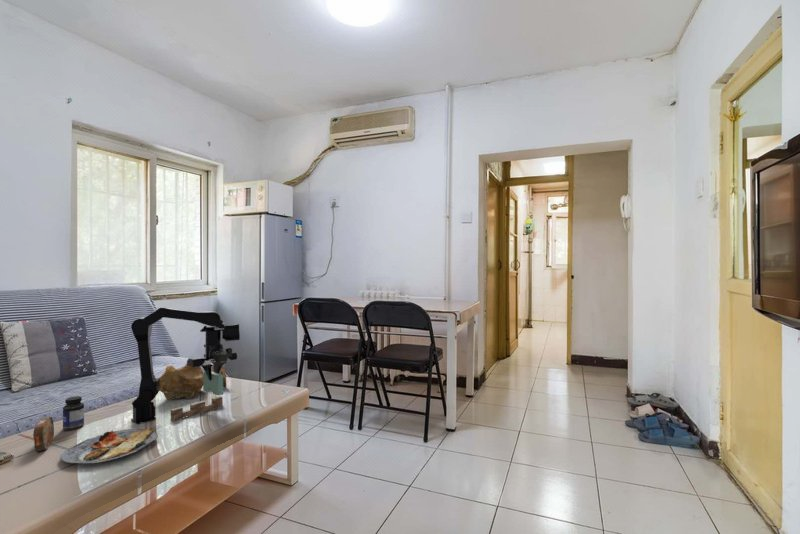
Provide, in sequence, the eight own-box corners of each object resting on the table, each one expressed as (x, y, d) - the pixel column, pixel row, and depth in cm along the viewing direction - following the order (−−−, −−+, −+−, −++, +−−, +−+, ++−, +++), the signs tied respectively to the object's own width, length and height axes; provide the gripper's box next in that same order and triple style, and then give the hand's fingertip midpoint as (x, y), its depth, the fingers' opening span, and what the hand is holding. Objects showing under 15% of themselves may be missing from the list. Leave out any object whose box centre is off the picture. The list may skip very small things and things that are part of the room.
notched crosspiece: (218, 395, 157) (218, 375, 158) (203, 390, 165) (203, 371, 165) (223, 394, 159) (223, 374, 159) (208, 389, 166) (208, 370, 166)
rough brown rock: (184, 406, 170) (187, 372, 171) (150, 402, 173) (153, 368, 174) (217, 392, 193) (220, 362, 194) (187, 388, 196) (189, 358, 197)
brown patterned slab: (44, 453, 125) (44, 426, 125) (31, 456, 123) (31, 429, 123) (55, 437, 138) (54, 413, 138) (43, 439, 136) (43, 415, 136)
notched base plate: (173, 420, 151) (173, 410, 151) (170, 419, 152) (170, 409, 152) (222, 406, 167) (222, 396, 167) (220, 405, 168) (219, 396, 168)
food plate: (107, 433, 139) (107, 424, 139) (171, 434, 139) (171, 424, 139) (41, 470, 114) (40, 458, 114) (118, 471, 114) (118, 459, 114)
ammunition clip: (204, 388, 196) (203, 363, 196) (206, 386, 198) (205, 363, 198) (224, 388, 195) (224, 363, 196) (226, 386, 197) (226, 362, 197)
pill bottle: (61, 428, 146) (61, 398, 146) (82, 423, 150) (82, 394, 151) (64, 432, 142) (64, 401, 142) (85, 427, 146) (85, 397, 146)
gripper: (200, 347, 150) (200, 388, 150) (244, 340, 165) (244, 377, 165) (186, 344, 157) (186, 383, 156) (230, 338, 172) (230, 374, 171)
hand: (213, 379), depth 162 cm, fingers closed on notched crosspiece, 2 cm apart
